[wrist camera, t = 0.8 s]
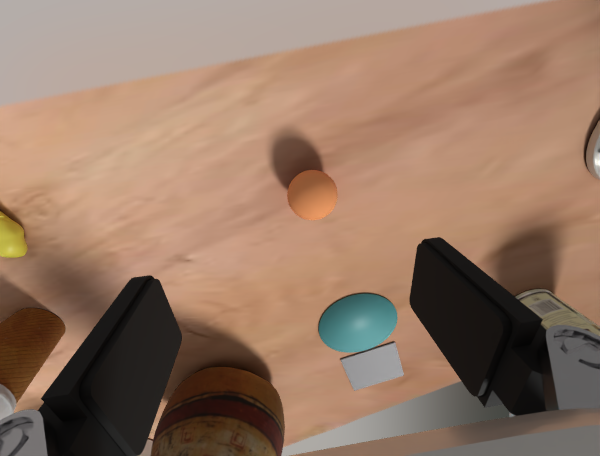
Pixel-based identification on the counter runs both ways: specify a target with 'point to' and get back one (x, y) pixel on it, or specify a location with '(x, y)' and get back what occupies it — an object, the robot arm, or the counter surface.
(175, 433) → the ceramic pitcher
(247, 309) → the counter surface
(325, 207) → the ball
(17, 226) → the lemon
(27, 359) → the disposable coffee cup
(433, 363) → the counter surface
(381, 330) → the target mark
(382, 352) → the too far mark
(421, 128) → the counter surface
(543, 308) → the coffee can
